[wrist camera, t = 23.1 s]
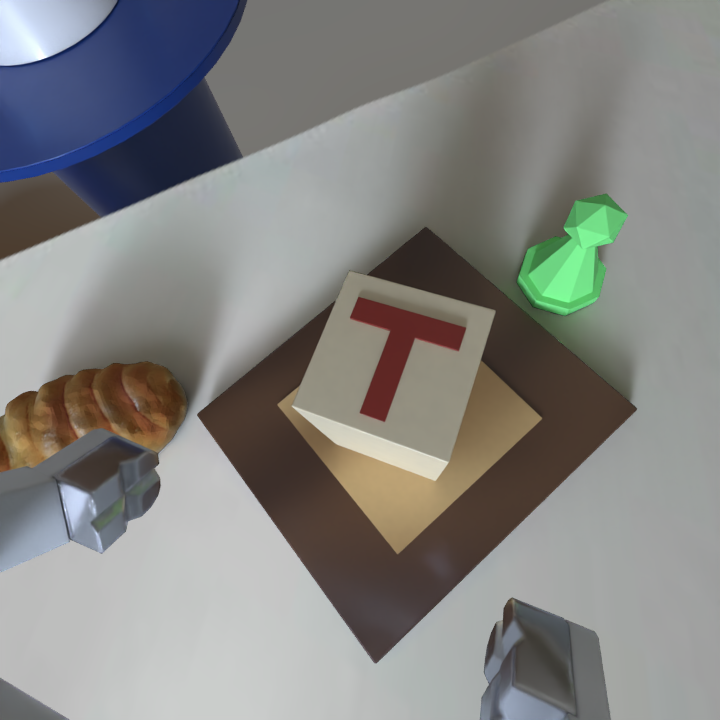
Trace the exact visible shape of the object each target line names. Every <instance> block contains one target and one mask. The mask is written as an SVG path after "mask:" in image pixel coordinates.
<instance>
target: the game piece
mask: <svg viewBox="0 0 720 720" xmlns="http://www.w3.org/2000/svg"><path fill="white" fill-rule="evenodd" d="M627 216H628V215H627V214H626V213H625V212H624V211H623V210H622V209H621V208H620V207H619V206H618V205H617V204H616V203H615V202H614V201H613V200H612V199H611V198H610V197H609V196H608V195H607V194H603V195H598V196H594V197H590V198H586V199H581V200H577V201H575V203H574V205H573V208H572V210H571V212H570V214H569V216H568V219H567V221H566V223H565V225H564V227H563V228H564V229H565V231H566V232H567V233H568V235H566V236H564V237H562V238H560V237H556V236H555V237H553V238H551V239H549V240H546V241H544V242H542V243H540V244H538V245H535V246H533V247H531V248H529V249H528V250H527V252H526V254H525V257H524V260H523V263H522V266H521V269H520V272H519V275H518V279H517V284H518V285H519V287H520V288H521V290H522V291H523V293H524V294H525V296H526V297H527V299H528V301H529V302H530V304H531V305H532V307H535V308H538V309H542V310H546V311H549V312H553V313H556V314H560V315H563V316H566V315H568V314H570V313H572V312H575V311H577V310H579V309H581V308H583V307H586V306H588V305H590V304H592V303H594V302H595V301H596V299H597V298H598V297H599V295H600V291H601V287H602V284H603V280H604V276H605V272H606V267H605V266H604V265H603V264H602V262H601V261H600V260H599V258H598V246H600V245H605V244H609V243H613V242H614V240H615V238H616V236H617V235H618V233H619V231H620V229H621V227H622V225H623V224H624V222H625V220H626V218H627Z"/></svg>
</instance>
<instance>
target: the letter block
mask: <svg viewBox="0 0 720 720" xmlns="http://www.w3.org/2000/svg"><path fill="white" fill-rule="evenodd" d="M495 312H496V311H495V310H493V309H489V308H485V307H482V306H478V305H474V304H471V303H467V302H463V301H460V300H456V299H452V298H449V297H445V296H442V295H438V294H434V293H431V292H427V291H423V290H420V289H416V288H412V287H409V286H405V285H401V284H398V283H394V282H390V281H387V280H383V279H380V278H376V277H372V276H369V275H365V274H361V273H358V272H354V271H350V270H349V271H348V274H347V276H346V279H345V281H344V283H343V286H342V288H341V290H340V293H339V295H338V297H337V300H336V302H335V304H334V307H333V309H332V312H331V314H330V316H329V319H328V321H327V323H326V326H325V328H324V330H323V333H322V335H321V337H320V340H319V342H318V345H317V347H316V349H315V352H314V354H313V356H312V359H311V361H310V363H309V366H308V368H307V370H306V373H305V375H304V378H303V380H302V382H301V385H300V387H299V389H298V392H297V394H296V396H295V399H294V401H293V404H292V407H293V408H294V409H295V410H296V411H297V412H299V413H300V414H301V415H302V416H303V417H305V418H306V419H307V420H308V421H309V422H310V423H312V424H313V425H314V426H315V427H316V428H317V429H319V430H320V431H321V432H322V433H323V434H325V435H326V436H327V437H328V438H329V439H330V440H332V441H333V442H334V443H335V444H337V445H340V446H342V447H345V448H348V449H350V450H353V451H356V452H358V453H361V454H364V455H367V456H369V457H372V458H375V459H377V460H380V461H383V462H385V463H388V464H391V465H393V466H396V467H399V468H402V469H404V470H407V471H410V472H412V473H415V474H418V475H420V476H423V477H426V478H429V479H431V480H434V481H436V480H437V478H438V477H439V476H440V474H441V473H442V471H443V470H444V469H445V467H446V466H447V464H448V463H449V461H450V458H451V455H452V452H453V448H454V445H455V442H456V439H457V435H458V432H459V429H460V426H461V423H462V419H463V416H464V413H465V410H466V406H467V403H468V400H469V397H470V393H471V390H472V387H473V384H474V380H475V377H476V374H477V371H478V367H479V364H480V361H481V358H482V355H483V351H484V348H485V345H486V342H487V338H488V335H489V332H490V329H491V325H492V322H493V319H494V316H495Z"/></svg>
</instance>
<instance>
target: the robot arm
mask: <svg viewBox="0 0 720 720" xmlns="http://www.w3.org/2000/svg"><path fill="white" fill-rule="evenodd" d="M117 1H118V0H0V66H11V65H20V64H26V63H31V62H35V61H38V60H41V59H44V58H47V57H50V56H52V55H55V54H57V53H59V52H61V51H63V50H65V49H67V48H69V47H71V46H72V45H74V44H76V43H77V42H79V41H80V40H82V39H83V38H84V37H86V36H87V35H88V34H90V33H91V32H92V31H93V30H94V29H96V28H97V27H98V26H99V25H100V24H101V23H102V22H103V21H104V20H105V18H106V17H107V16H108V15H109V14H110V12H111V11H112V9H113V8H114V6H115V5H116V3H117ZM158 464H159V459H158V453H157V452H155V451H153V450H151V449H148V448H146V447H144V446H142V445H140V444H137V443H135V442H133V441H131V440H128V439H126V438H124V437H122V436H119V435H117V434H115V433H112V432H110V431H108V430H105V429H103V428H99V429H94V430H92V431H90V432H89V433H87V434H86V435H84V436H82V437H81V438H79V439H78V440H76V441H74V442H73V443H71V444H70V445H68V446H67V447H65V448H63V449H62V450H60V451H59V452H57V453H55V454H54V455H52V456H51V457H49V458H48V459H46V460H44V461H43V462H41V463H40V464H38V465H36V466H35V467H33V468H30V467H28V466H25V467H21V468H17V469H12V470H8V471H4V472H0V572H3V571H5V570H7V569H9V568H12V567H14V566H16V565H18V564H21V563H23V562H25V561H27V560H30V559H32V558H34V557H37V556H39V555H41V554H43V553H46V552H48V551H50V550H52V549H55V548H57V547H59V546H61V545H64V544H66V543H68V542H70V540H72V541H75V542H77V543H79V544H81V545H83V546H86V547H88V548H90V549H92V550H95V551H97V552H99V553H101V554H102V553H103V552H104V551H105V550H106V549H107V548H108V547H110V546H111V545H112V544H113V543H114V542H115V541H116V540H117V539H118V538H119V537H120V536H121V535H122V534H123V533H125V532H126V529H127V525H128V521H130V520H133V519H136V518H139V517H142V516H143V515H144V514H145V513H146V512H147V511H148V510H149V509H150V508H151V506H152V505H153V503H154V502H155V500H156V498H157V497H158V494H159V490H160V486H161V485H160V477H159V476H158V474H157V472H156V471H155V469H154V468H155V467H156V466H157V465H158ZM69 539H70V540H69ZM484 674H485V676H486V679H487V681H488V683H489V686H488V687H487V689H486V691H485V693H484V694H483V696H482V698H481V711H480V720H611V717H610V711H609V704H608V698H607V691H606V684H605V678H604V671H603V665H602V658H601V651H600V645H599V638H598V636H597V635H596V633H595V631H592V630H590V629H587V628H585V627H583V626H580V625H578V624H575V623H573V622H570V621H568V620H565V619H564V618H562V617H560V616H557V615H555V614H552V613H550V612H547V611H545V610H542V609H540V608H537V607H535V606H532V605H529V604H527V603H524V602H522V601H519V600H517V599H514V598H511V599H509V600H508V602H507V603H506V605H505V607H504V612H503V620H501V621H498V622H496V624H495V626H494V628H493V630H492V632H491V635H490V638H489V642H488V645H487V650H486V656H485V665H484ZM0 720H69V719H68V718H66V717H64V716H63V715H61V714H59V713H58V712H56V711H54V710H53V709H51V708H50V707H48V706H46V705H45V704H43V703H41V702H40V701H38V700H36V699H35V698H33V697H31V696H30V695H28V694H26V693H25V692H23V691H21V690H20V689H18V688H16V687H15V686H13V685H12V684H10V683H8V682H7V681H5V680H3V679H2V678H0Z"/></svg>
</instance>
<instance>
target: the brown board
mask: <svg viewBox="0 0 720 720" xmlns="http://www.w3.org/2000/svg"><path fill="white" fill-rule="evenodd" d="M367 275H369V276H372V277H376V278H380V279H383V280H387V281H390V282H394V283H398V284H401V285H405V286H409V287H412V288H416V289H420V290H423V291H427V292H431V293H434V294H438V295H442V296H445V297H449V298H452V299H456V300H460V301H463V302H467V303H471V304H474V305H478V306H482V307H485V308H489V309H493V310H495V311H496V312H495V316H494V319H493V322H492V325H491V329H490V332H489V335H488V338H487V342H486V345H485V348H484V351H483V355H482V358H481V361H480V364H479V367H478V371H477V374H476V377H475V380H474V384H473V387H472V390H471V393H470V397H469V400H468V403H467V406H466V410H465V413H464V416H463V419H462V423H461V426H460V429H459V432H458V435H457V439H456V442H455V445H454V448H453V452H452V455H451V458H450V461H449V463H448V464H447V466H446V467H445V469H444V470H443V471H442V473H441V474H440V476H439V477H438V478H437V480H436V481H434V480H431V479H429V478H426V477H423V476H420V475H418V474H415V473H412V472H410V471H407V470H404V469H402V468H399V467H396V466H393V465H391V464H388V463H385V462H383V461H380V460H377V459H375V458H372V457H369V456H367V455H364V454H361V453H358V452H356V451H353V450H350V449H348V448H345V447H342V446H340V445H337V444H335V443H334V442H333V441H332V440H330V439H329V438H328V437H327V436H326V435H325V434H323V433H322V432H321V431H320V430H319V429H317V428H316V427H315V426H314V425H313V424H312V423H310V422H309V421H308V420H307V419H306V418H305V417H303V416H302V415H301V414H300V413H299V412H297V411H296V410H295V409H294V408H293V407H292V404H293V401H294V399H295V396H296V394H297V392H298V389H299V387H300V385H301V382H302V380H303V378H304V375H305V373H306V370H307V368H308V366H309V363H310V361H311V359H312V356H313V354H314V352H315V349H316V347H317V345H318V342H319V340H320V337H321V335H322V333H323V330H324V328H325V326H326V323H327V321H328V319H329V316H330V314H331V312H332V309H333V307H334V304H335V302H336V301H334V302H333V303H332V304H331V305H330V306H328V307H327V308H326V309H325V310H323V311H322V312H321V313H320V314H319V315H317V316H316V317H315V318H314V319H313V320H311V321H310V322H309V323H308V324H306V325H305V326H304V327H303V328H302V329H300V330H299V331H298V332H297V333H295V334H294V335H293V336H292V337H291V338H289V339H288V340H287V341H286V342H284V343H283V344H282V345H281V346H280V347H278V348H277V349H276V350H275V351H273V352H272V353H271V354H270V355H269V356H267V357H266V358H265V359H264V360H262V361H261V362H260V363H259V364H258V365H256V366H255V367H254V368H253V369H252V370H250V371H249V372H248V373H247V374H245V375H244V376H243V377H242V378H241V379H239V380H238V381H237V382H236V383H234V384H233V385H232V386H231V387H230V388H228V389H227V390H226V391H225V392H223V393H222V394H221V395H220V396H219V397H217V398H216V399H215V400H214V401H212V402H211V403H210V404H209V405H208V406H206V407H205V408H204V409H203V410H201V411H200V412H199V413H198V414H197V416H198V417H199V419H200V420H201V421H202V423H203V424H204V426H205V427H206V428H207V430H208V431H209V433H210V434H211V435H212V437H213V438H214V440H215V441H216V442H217V444H218V445H219V447H220V448H221V449H222V451H223V452H224V454H225V455H226V456H227V458H228V459H229V461H230V462H231V463H232V465H233V466H234V468H235V469H236V470H237V472H238V473H239V475H240V476H241V477H242V479H243V480H244V482H245V483H246V484H247V486H248V487H249V489H250V490H251V491H252V493H253V494H254V496H255V497H256V498H257V500H258V501H259V503H260V504H261V505H262V507H263V508H264V509H265V511H266V512H267V514H268V515H269V516H270V518H271V519H272V521H273V522H274V523H275V525H276V526H277V528H278V529H279V530H280V532H281V533H282V535H283V536H284V537H285V539H286V540H287V542H288V543H289V544H290V546H291V547H292V549H293V550H294V551H295V553H296V554H297V556H298V557H299V558H300V560H301V561H302V563H303V564H304V565H305V567H306V568H307V570H308V571H309V572H310V574H311V575H312V577H313V578H314V579H315V581H316V582H317V584H318V585H319V586H320V588H321V589H322V591H323V592H324V593H325V595H326V596H327V598H328V599H329V600H330V602H331V603H332V605H333V606H334V607H335V609H336V610H337V612H338V613H339V614H340V616H341V617H342V619H343V620H344V621H345V623H346V624H347V626H348V627H349V628H350V630H351V631H352V633H353V634H354V635H355V637H356V638H357V640H358V641H359V642H360V644H361V645H362V647H363V648H364V649H365V651H366V652H367V654H368V655H369V656H370V658H371V659H372V661H373V662H374V663H377V662H378V661H379V660H380V659H381V658H383V657H384V656H385V655H386V654H387V653H388V652H389V651H390V650H391V649H392V648H393V647H394V646H395V645H396V644H397V643H398V642H399V641H400V640H401V639H402V638H403V637H404V636H405V635H406V634H407V633H408V632H409V631H410V630H411V629H412V628H413V627H414V626H415V625H416V624H417V623H418V622H419V621H421V620H422V619H423V618H424V617H425V616H426V615H427V614H428V613H429V612H430V611H431V610H432V609H433V608H434V607H435V606H436V605H437V604H438V603H439V602H440V601H441V600H442V599H443V598H444V597H445V596H446V595H447V594H448V593H449V592H450V591H451V590H452V589H453V588H454V587H455V586H456V585H457V584H459V583H460V582H461V581H462V580H463V579H464V578H465V577H466V576H467V575H468V574H469V573H470V572H471V571H472V570H473V569H474V568H475V567H476V566H477V565H478V564H479V563H480V562H481V561H482V560H483V559H484V558H485V557H486V556H487V555H488V554H489V553H490V552H491V551H492V550H493V549H494V548H495V547H497V546H498V545H499V544H500V543H501V542H502V541H503V540H504V539H505V538H506V537H507V536H508V535H509V534H510V533H511V532H512V531H513V530H514V529H515V528H516V527H517V526H518V525H519V524H520V523H521V522H522V521H523V520H524V519H525V518H526V517H527V516H528V515H529V514H530V513H531V512H532V511H533V510H535V509H536V508H537V507H538V506H539V505H540V504H541V503H542V502H543V501H544V500H545V499H546V498H547V497H548V496H549V495H550V494H551V493H552V492H553V491H554V490H555V489H556V488H557V487H558V486H559V485H560V484H561V483H562V482H563V481H564V480H565V479H566V478H567V477H568V476H569V475H570V474H571V473H573V472H574V471H575V470H576V469H577V468H578V467H579V466H580V465H581V464H582V463H583V462H584V461H585V460H586V459H587V458H588V457H589V456H590V455H591V454H592V453H593V452H594V451H595V450H596V449H597V448H598V447H599V446H600V445H601V444H602V443H603V442H604V441H605V440H606V439H607V438H608V437H609V436H611V435H612V434H613V433H614V432H615V431H616V430H617V429H618V428H619V427H620V426H621V425H622V424H623V423H624V422H625V421H626V420H627V419H628V418H629V417H630V416H631V415H632V414H633V413H634V412H635V411H636V410H637V408H636V407H635V406H634V405H633V404H631V403H630V402H629V401H628V400H627V399H626V398H624V397H623V396H622V395H621V394H620V393H619V392H617V391H616V390H615V389H614V388H613V387H612V386H610V385H609V384H608V383H607V382H606V381H605V380H604V379H602V378H601V377H600V376H599V375H598V374H597V373H595V372H594V371H593V370H592V369H591V368H590V367H588V366H587V365H586V364H585V363H584V362H583V361H581V360H580V359H579V358H578V357H577V356H576V355H574V354H573V353H572V352H571V351H570V350H569V349H568V348H566V347H565V346H564V345H563V344H562V343H561V342H559V341H558V340H557V339H556V338H555V337H554V336H552V335H551V334H550V333H549V332H548V331H547V330H545V329H544V328H543V327H542V326H541V325H540V324H539V323H537V322H536V321H535V320H534V319H533V318H532V317H530V316H529V315H528V314H527V313H526V312H525V311H523V310H522V309H521V308H520V307H519V306H518V305H516V304H515V303H514V302H513V301H512V300H511V299H509V298H508V297H507V296H506V295H505V294H504V293H503V292H501V291H500V290H499V289H498V288H497V287H496V286H494V285H493V284H492V283H491V282H490V281H489V280H487V279H486V278H485V277H484V276H483V275H482V274H480V273H479V272H478V271H477V270H476V269H475V268H474V267H472V266H471V265H470V264H469V263H468V262H467V261H465V260H464V259H463V258H462V257H461V256H460V255H458V254H457V253H456V252H455V251H454V250H453V249H451V248H450V247H449V246H448V245H447V244H446V243H444V242H443V241H442V240H441V239H440V238H439V237H438V236H436V235H435V234H434V233H433V232H432V231H431V230H429V229H428V228H427V227H425V228H424V229H422V230H421V231H420V232H419V233H417V234H416V235H415V236H414V237H413V238H411V239H410V240H409V241H408V242H406V243H405V244H404V245H403V246H402V247H400V248H399V249H398V250H397V251H395V252H394V253H393V254H392V255H391V256H389V257H388V258H387V259H386V260H385V261H383V262H382V263H381V264H380V265H378V266H377V267H376V268H375V269H374V270H372V271H371V272H370V273H369V274H367Z"/></svg>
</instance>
